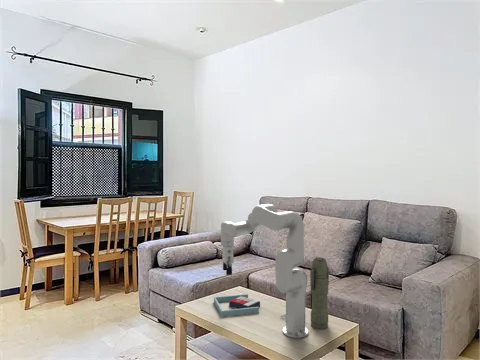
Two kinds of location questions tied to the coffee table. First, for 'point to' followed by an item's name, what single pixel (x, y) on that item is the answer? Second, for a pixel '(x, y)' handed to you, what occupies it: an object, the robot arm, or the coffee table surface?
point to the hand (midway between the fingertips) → (227, 272)
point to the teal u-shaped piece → (233, 311)
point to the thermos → (319, 293)
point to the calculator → (244, 303)
